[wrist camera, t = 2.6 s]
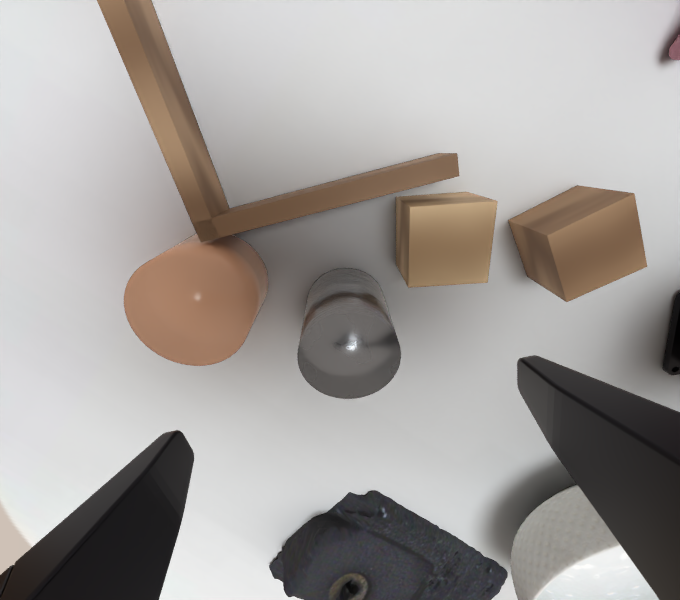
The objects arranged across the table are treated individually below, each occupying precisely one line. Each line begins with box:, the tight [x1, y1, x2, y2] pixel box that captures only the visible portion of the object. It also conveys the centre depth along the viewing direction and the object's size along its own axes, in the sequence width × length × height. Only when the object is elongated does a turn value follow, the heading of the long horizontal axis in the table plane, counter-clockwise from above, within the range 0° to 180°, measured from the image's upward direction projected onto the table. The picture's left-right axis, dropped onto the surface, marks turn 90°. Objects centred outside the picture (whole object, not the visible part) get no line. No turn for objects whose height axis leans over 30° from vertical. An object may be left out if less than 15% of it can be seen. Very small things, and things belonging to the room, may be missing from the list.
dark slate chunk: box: [269, 491, 507, 600], centre depth 32 cm, size 15×22×5 cm
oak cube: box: [396, 192, 497, 288], centre depth 18 cm, size 4×4×4 cm
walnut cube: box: [508, 186, 647, 302], centre depth 18 cm, size 4×4×4 cm
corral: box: [97, 0, 459, 242], centre depth 14 cm, size 16×13×3 cm
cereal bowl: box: [511, 485, 659, 600], centre depth 27 cm, size 17×17×7 cm
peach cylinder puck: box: [124, 234, 268, 366], centre depth 18 cm, size 6×6×5 cm
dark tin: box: [298, 268, 401, 399], centre depth 19 cm, size 5×5×6 cm
